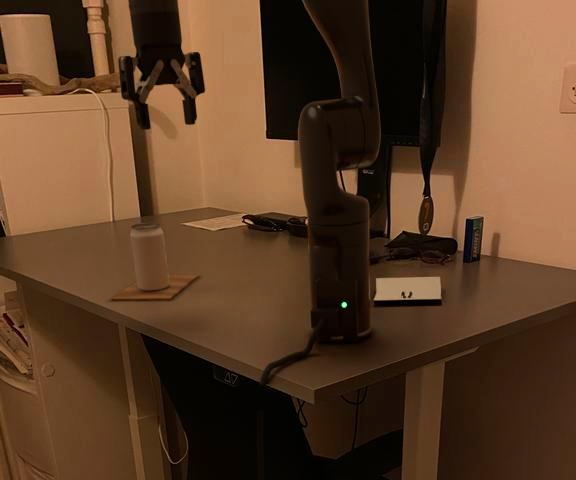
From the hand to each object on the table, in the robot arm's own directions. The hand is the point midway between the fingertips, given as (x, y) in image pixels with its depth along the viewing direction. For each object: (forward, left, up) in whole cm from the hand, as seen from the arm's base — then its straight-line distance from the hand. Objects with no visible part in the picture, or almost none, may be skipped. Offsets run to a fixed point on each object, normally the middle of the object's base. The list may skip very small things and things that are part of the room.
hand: (168, 126), depth 130 cm
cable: (+35, -25, -30) cm, 53 cm away
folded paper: (+7, -39, -30) cm, 50 cm away
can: (+14, +12, -30) cm, 35 cm away
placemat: (+15, +12, -30) cm, 36 cm away
